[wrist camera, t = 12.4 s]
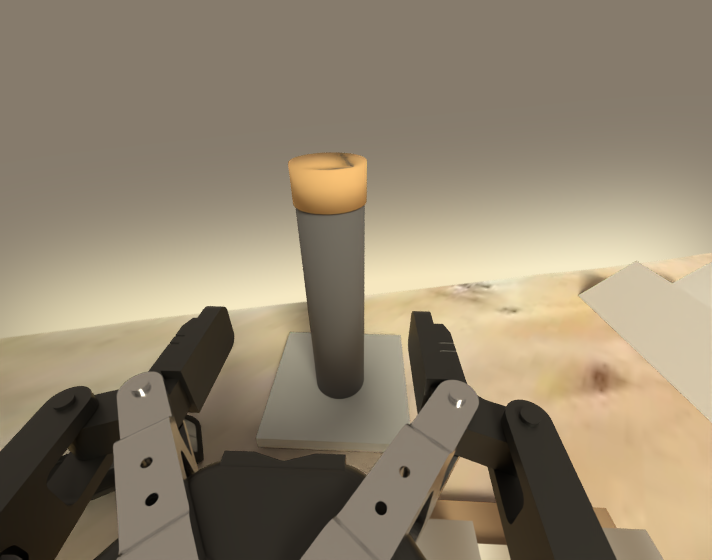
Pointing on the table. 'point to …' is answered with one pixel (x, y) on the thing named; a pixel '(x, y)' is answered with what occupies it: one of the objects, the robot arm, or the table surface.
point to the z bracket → (663, 324)
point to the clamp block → (487, 540)
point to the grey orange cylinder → (333, 263)
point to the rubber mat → (336, 401)
